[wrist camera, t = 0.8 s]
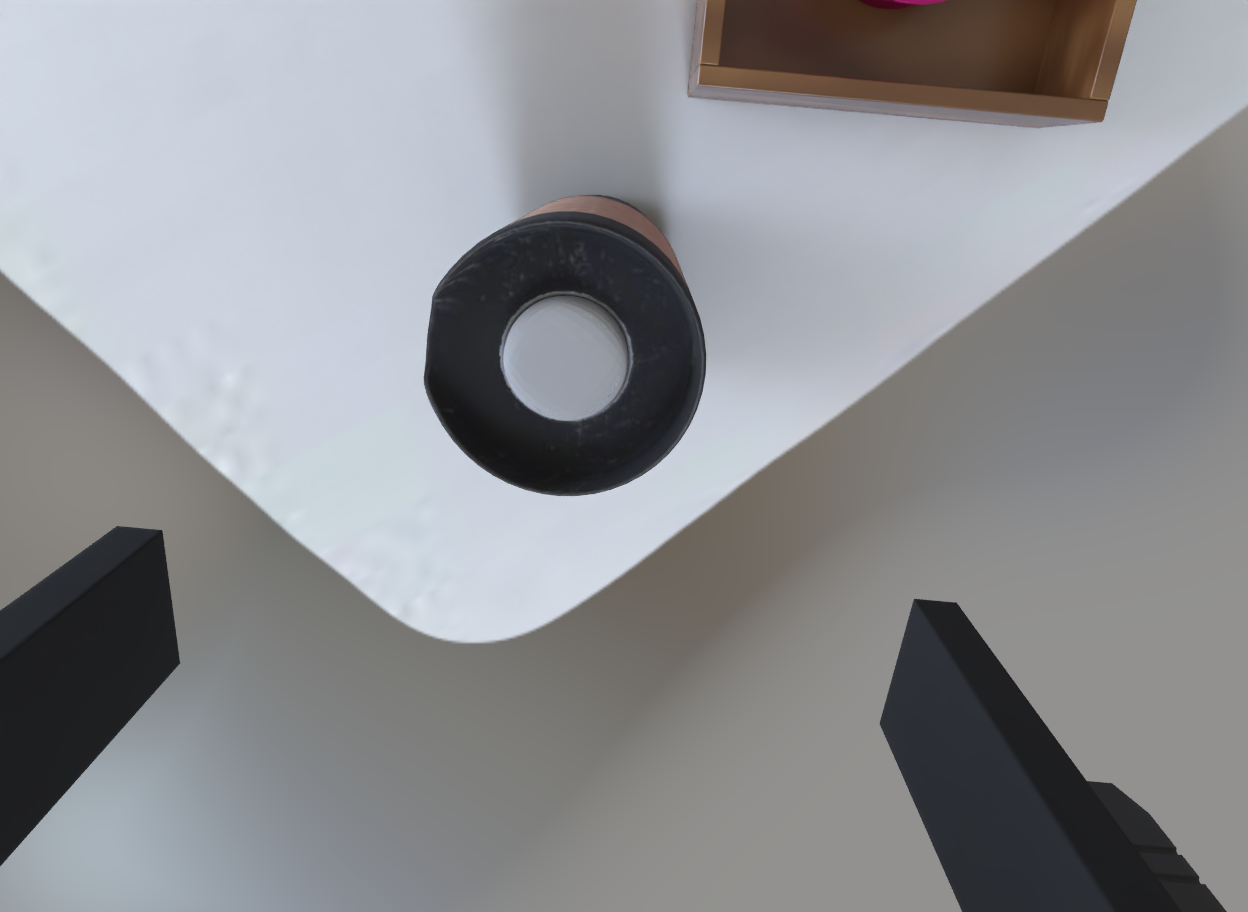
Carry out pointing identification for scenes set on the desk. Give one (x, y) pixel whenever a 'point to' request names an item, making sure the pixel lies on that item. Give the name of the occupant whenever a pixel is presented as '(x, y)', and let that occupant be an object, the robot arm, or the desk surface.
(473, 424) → the travel mug
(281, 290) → the desk surface
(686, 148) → the desk surface
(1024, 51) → the wooden box
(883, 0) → the pepper mill
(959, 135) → the desk surface
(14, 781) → the robot arm
